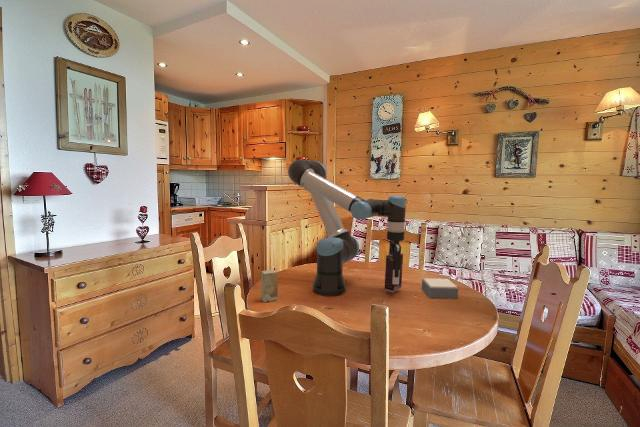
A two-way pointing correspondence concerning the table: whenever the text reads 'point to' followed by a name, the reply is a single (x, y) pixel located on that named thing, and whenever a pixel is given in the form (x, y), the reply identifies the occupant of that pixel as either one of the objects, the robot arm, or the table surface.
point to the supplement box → (389, 274)
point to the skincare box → (269, 285)
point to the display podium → (439, 288)
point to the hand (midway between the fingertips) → (393, 280)
